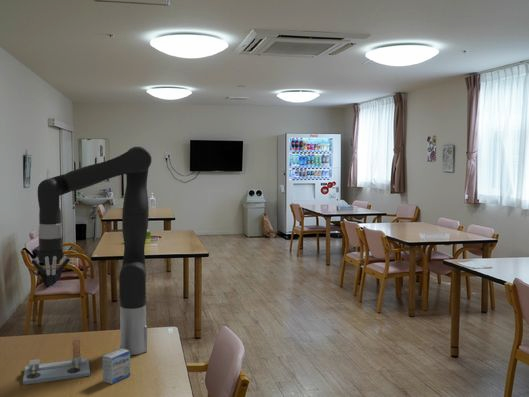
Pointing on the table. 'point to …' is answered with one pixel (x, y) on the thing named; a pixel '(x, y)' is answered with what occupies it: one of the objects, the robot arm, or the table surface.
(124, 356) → the medicine box
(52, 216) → the robot arm
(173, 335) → the table surface
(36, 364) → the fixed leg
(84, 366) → the bolt plate
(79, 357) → the sliding leg
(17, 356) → the table surface
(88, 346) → the table surface
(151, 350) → the table surface
